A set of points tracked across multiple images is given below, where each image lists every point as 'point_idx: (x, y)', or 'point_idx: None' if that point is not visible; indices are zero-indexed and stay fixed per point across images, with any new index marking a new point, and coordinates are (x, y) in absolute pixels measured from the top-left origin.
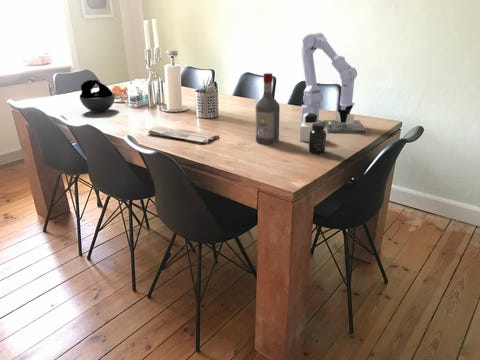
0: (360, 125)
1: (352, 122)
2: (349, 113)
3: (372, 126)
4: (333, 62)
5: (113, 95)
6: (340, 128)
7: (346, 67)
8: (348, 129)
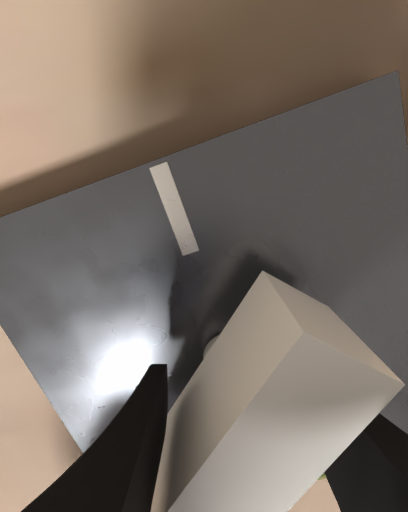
0: (187, 180)
1: (286, 288)
2: (135, 429)
3: (27, 35)
4: None
5: None
6: None
7: None
8: (402, 284)
